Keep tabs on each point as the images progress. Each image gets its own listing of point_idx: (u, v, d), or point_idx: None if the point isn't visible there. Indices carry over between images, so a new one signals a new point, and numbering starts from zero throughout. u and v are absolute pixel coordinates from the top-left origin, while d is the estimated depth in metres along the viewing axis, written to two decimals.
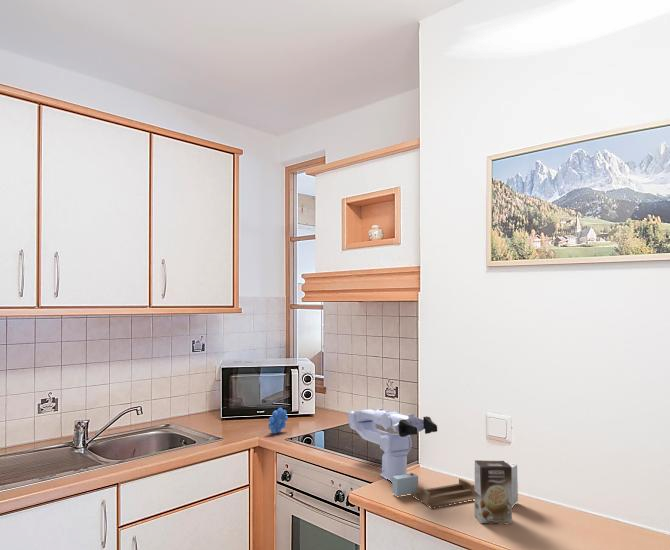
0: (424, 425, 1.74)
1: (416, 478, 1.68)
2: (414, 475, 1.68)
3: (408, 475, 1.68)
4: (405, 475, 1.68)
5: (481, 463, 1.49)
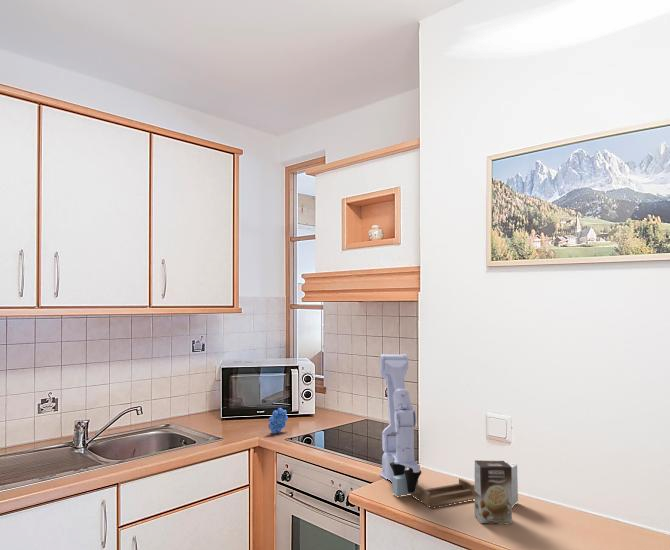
0: None
1: None
2: None
3: None
4: None
5: (481, 463, 1.49)
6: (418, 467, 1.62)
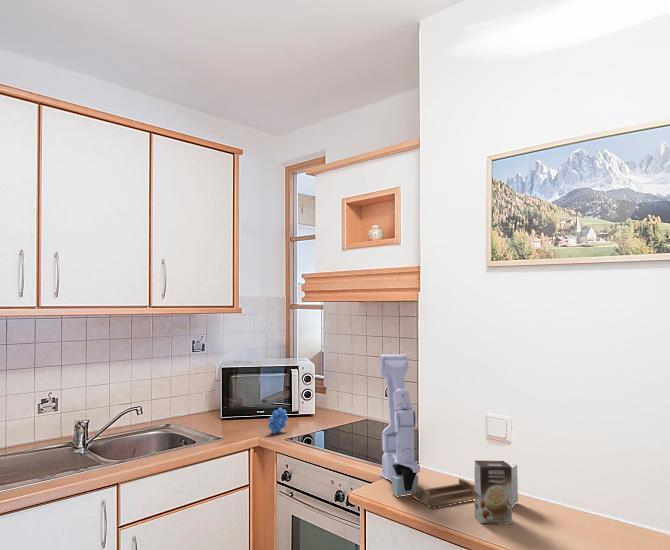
0: None
1: (416, 478, 1.68)
2: None
3: None
4: None
5: (481, 463, 1.49)
6: (418, 467, 1.62)
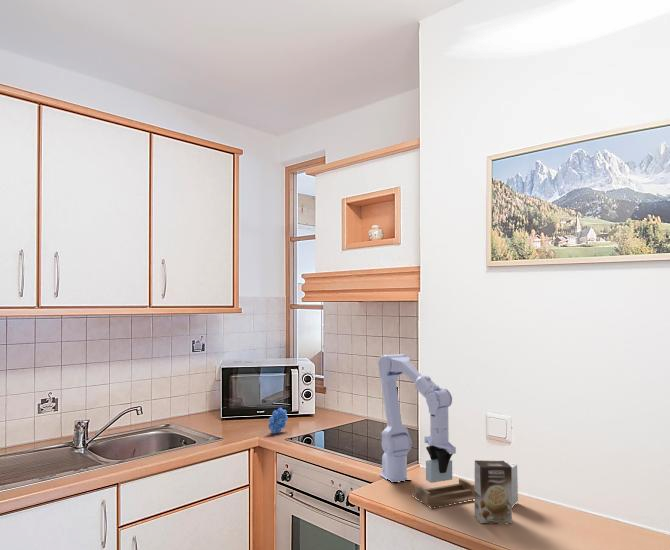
0: None
1: (450, 463, 1.64)
2: None
3: None
4: None
5: (481, 463, 1.49)
6: (454, 448, 1.58)
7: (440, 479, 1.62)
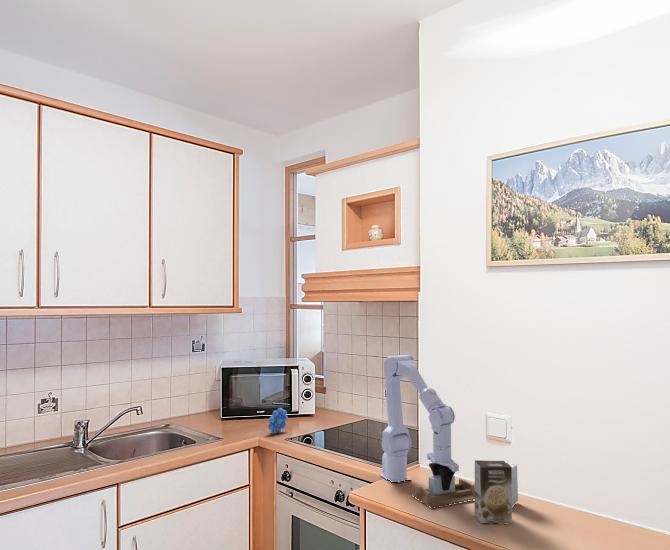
0: None
1: (453, 479, 1.64)
2: None
3: None
4: None
5: (481, 463, 1.49)
6: (457, 466, 1.58)
7: None
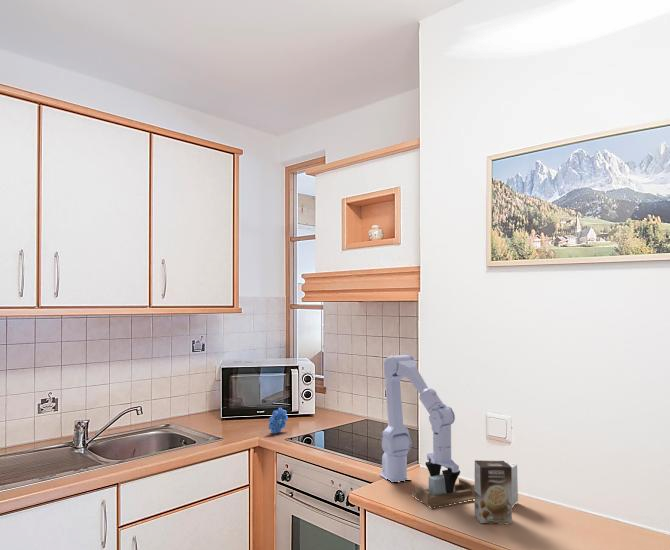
0: None
1: None
2: None
3: None
4: (441, 476, 1.64)
5: (481, 463, 1.49)
6: (457, 467, 1.58)
7: None
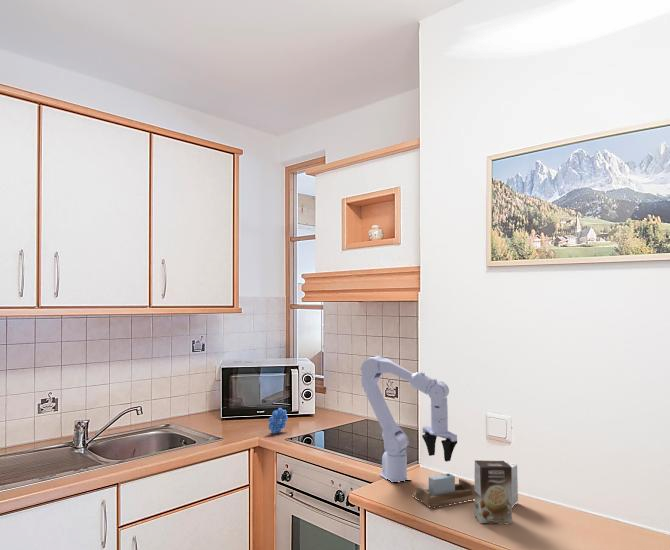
0: None
1: (453, 479, 1.64)
2: (451, 476, 1.65)
3: (444, 476, 1.65)
4: (441, 476, 1.64)
5: (481, 463, 1.49)
6: (455, 436, 1.70)
7: None
